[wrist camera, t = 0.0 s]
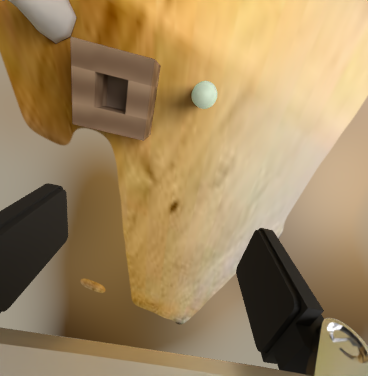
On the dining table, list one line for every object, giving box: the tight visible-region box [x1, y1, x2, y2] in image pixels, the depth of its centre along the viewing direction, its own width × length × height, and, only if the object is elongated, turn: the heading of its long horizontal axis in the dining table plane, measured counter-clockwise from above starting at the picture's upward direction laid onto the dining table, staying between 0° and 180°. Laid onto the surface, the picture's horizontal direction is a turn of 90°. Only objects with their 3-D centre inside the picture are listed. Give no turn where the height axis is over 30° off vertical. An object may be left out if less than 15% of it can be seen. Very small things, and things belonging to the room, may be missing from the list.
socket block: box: [71, 37, 160, 141], centre depth 32 cm, size 12×12×6 cm
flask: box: [3, 0, 77, 43], centre depth 26 cm, size 7×7×10 cm
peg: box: [191, 81, 217, 109], centre depth 30 cm, size 3×3×10 cm
